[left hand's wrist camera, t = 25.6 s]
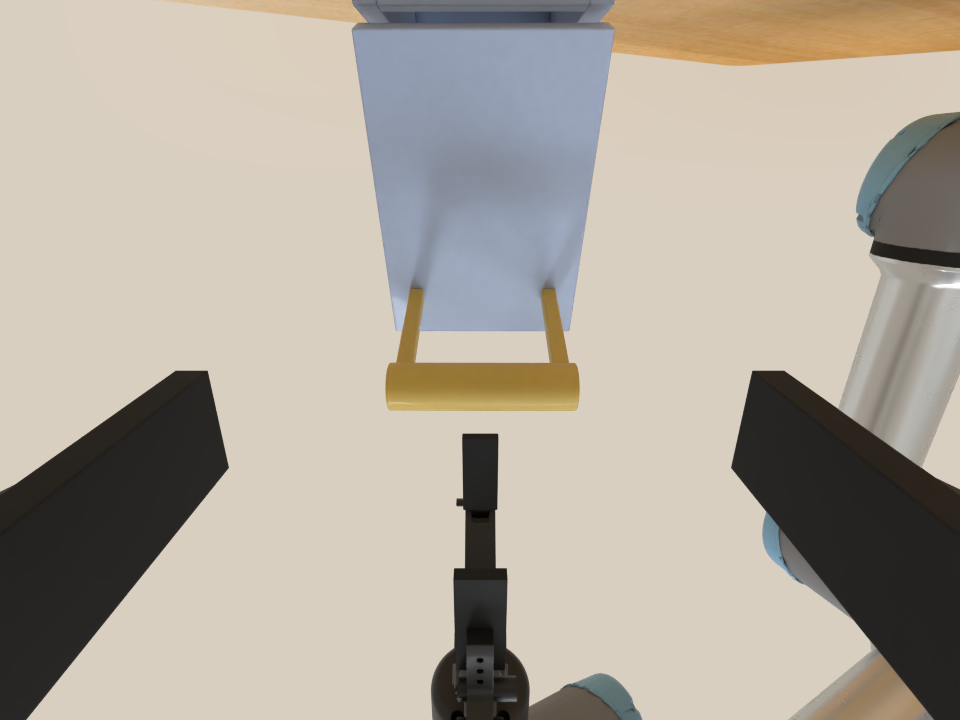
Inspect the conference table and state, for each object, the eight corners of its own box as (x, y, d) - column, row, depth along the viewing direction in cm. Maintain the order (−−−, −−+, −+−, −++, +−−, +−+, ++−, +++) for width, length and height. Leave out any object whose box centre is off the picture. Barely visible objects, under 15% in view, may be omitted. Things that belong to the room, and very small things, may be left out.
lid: (566, 319, 28) (591, 443, 22) (398, 319, 28) (373, 443, 22) (610, 22, 19) (675, 88, 12) (356, 22, 19) (291, 88, 13)
